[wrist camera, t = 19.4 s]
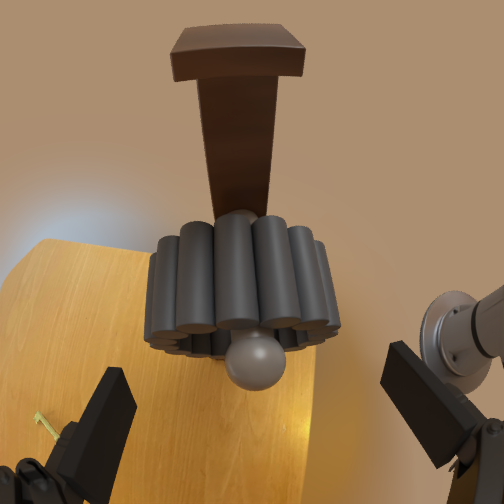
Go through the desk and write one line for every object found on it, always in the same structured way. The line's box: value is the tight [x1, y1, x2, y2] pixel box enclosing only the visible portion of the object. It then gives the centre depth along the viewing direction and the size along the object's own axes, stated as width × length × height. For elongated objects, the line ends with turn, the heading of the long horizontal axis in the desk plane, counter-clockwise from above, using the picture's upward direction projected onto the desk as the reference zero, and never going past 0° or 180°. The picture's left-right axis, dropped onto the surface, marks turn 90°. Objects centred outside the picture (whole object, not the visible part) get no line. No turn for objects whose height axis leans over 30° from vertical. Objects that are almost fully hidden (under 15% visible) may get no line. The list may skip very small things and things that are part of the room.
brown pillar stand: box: [170, 24, 306, 391], centre depth 24 cm, size 14×10×42 cm
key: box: [34, 411, 60, 441], centre depth 30 cm, size 7×12×2 cm, turn 72°
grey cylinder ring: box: [144, 214, 341, 359], centre depth 16 cm, size 5×11×11 cm, turn 95°
